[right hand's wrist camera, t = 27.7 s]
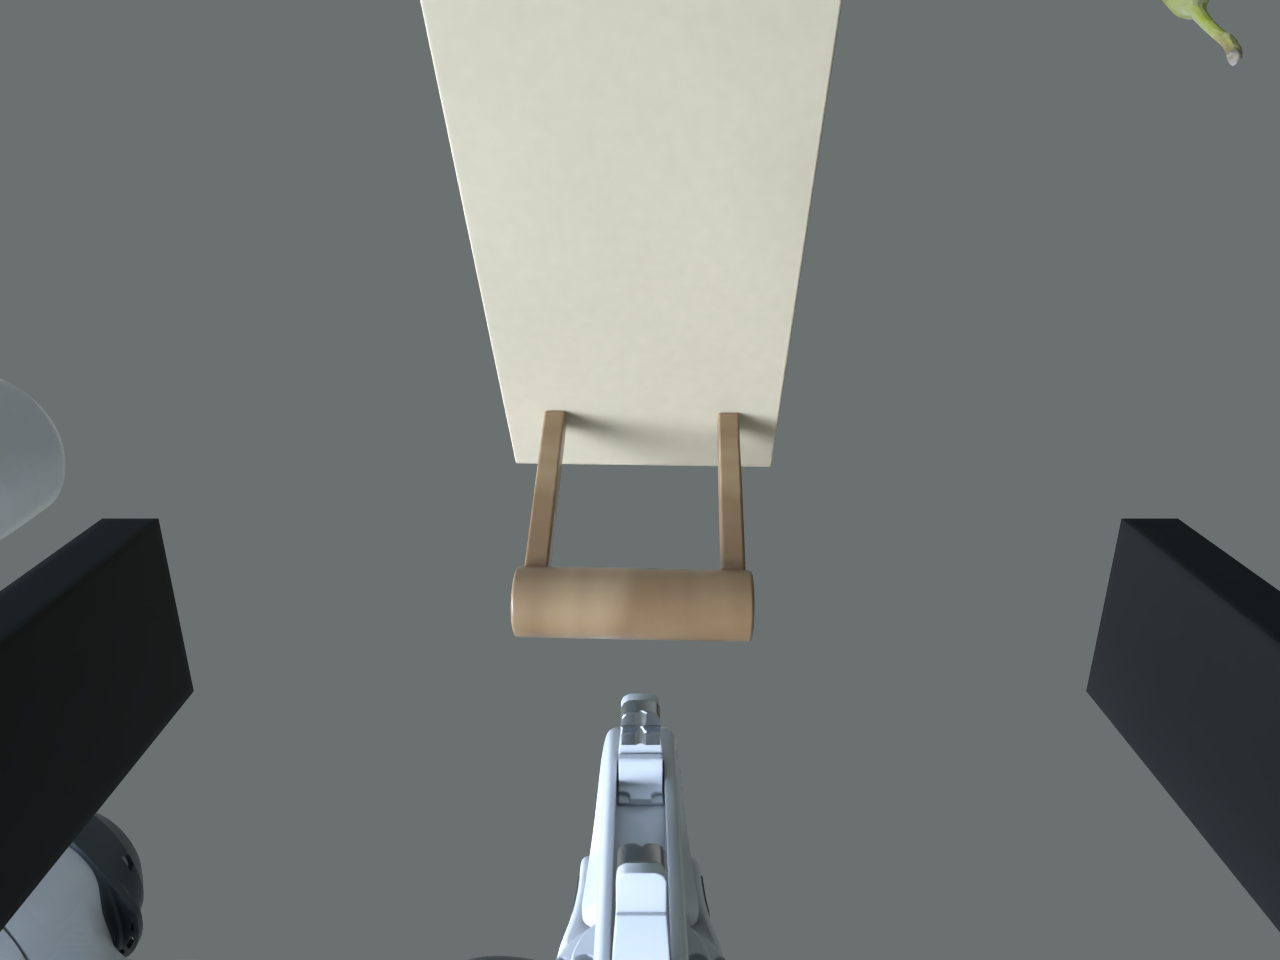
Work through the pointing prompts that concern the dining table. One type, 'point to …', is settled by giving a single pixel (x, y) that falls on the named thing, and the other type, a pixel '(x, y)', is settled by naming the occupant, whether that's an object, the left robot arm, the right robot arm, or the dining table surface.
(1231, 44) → the fruit
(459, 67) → the lid
